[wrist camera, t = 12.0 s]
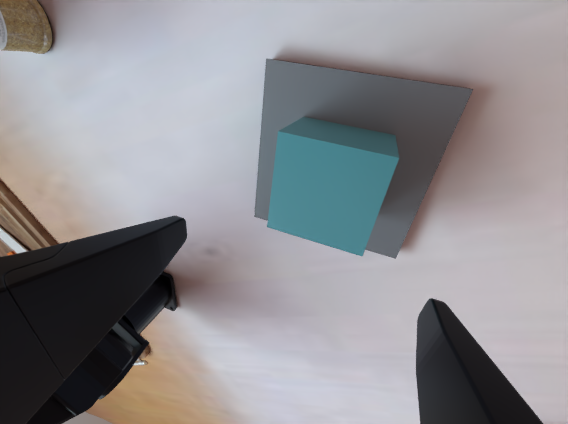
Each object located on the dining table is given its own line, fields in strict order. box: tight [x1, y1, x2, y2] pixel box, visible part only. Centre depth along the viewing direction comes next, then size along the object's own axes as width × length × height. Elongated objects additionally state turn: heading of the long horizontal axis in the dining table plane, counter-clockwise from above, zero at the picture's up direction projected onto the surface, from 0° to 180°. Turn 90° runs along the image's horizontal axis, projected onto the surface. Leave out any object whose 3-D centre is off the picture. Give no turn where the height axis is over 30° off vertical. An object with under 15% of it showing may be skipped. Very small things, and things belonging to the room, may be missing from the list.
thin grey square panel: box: [254, 59, 473, 259], centre depth 17 cm, size 12×12×4 cm
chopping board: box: [0, 181, 149, 365], centre depth 45 cm, size 45×27×3 cm, turn 31°
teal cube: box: [267, 117, 399, 256], centre depth 16 cm, size 6×6×5 cm
